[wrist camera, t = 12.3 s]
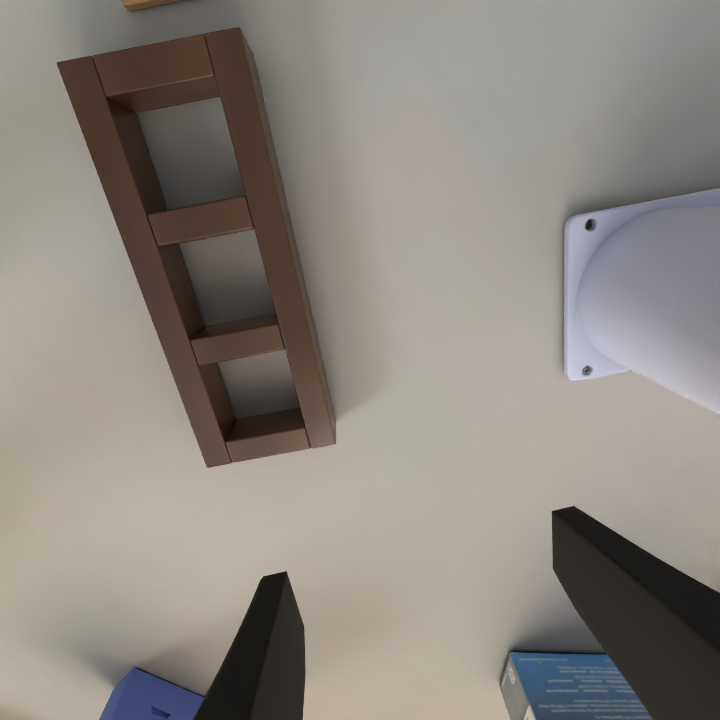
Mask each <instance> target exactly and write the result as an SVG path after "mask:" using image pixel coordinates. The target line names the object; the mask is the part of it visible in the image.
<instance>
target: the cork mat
mask: <svg viewBox="0 0 720 720" xmlns="http://www.w3.org/2000/svg"><path fill="white" fill-rule="evenodd" d="M122 1H123V5H124V7H125V8H126V9H127V10H128V11H133V10H138V9H143V8H149V7H154V6H159V5H164V4H169V3H174V2H179V1H184V0H122Z"/></svg>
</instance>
